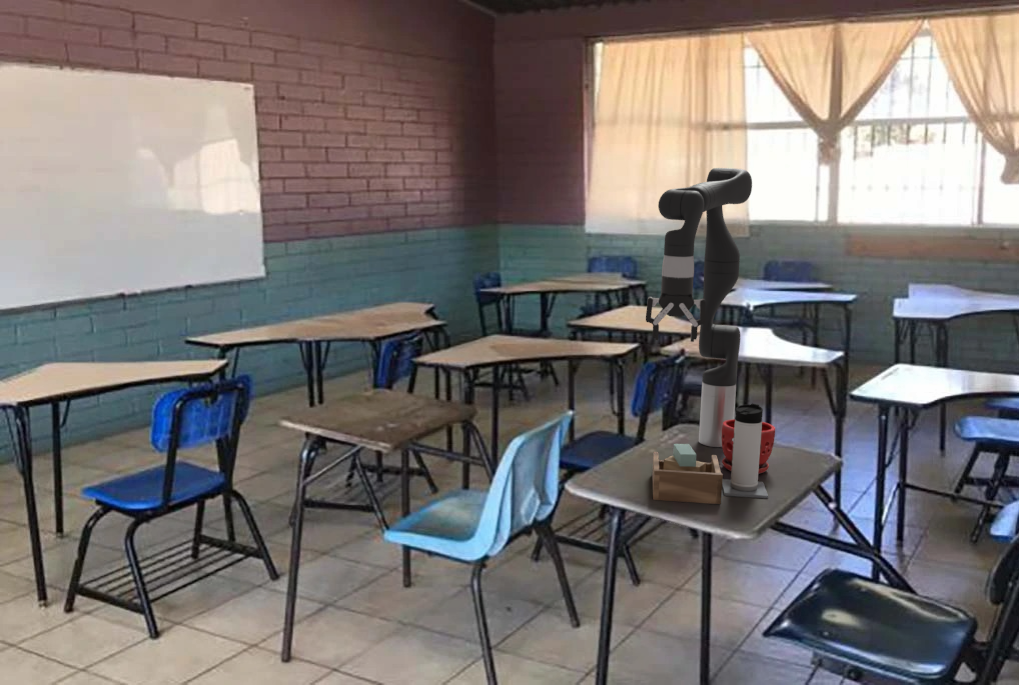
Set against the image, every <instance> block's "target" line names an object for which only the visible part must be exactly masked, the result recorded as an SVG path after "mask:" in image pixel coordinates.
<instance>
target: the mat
mask: <svg viewBox="0 0 1019 685" xmlns="http://www.w3.org/2000/svg"><path fill="white" fill-rule="evenodd" d="M722 492H723V495H724V496H727V497H740V498H741V497H742V498H757V499H769V495H768V491H767V488H766V486H765V484H764V481H758V485H757V489H756V490H754V491H739V490H736V489H733V488H732V487H731V479H724V478H723V479H722Z"/></svg>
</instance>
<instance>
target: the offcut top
mask: <svg viewBox="0 0 1019 685" xmlns="http://www.w3.org/2000/svg"><path fill="white" fill-rule="evenodd" d="M672 449H673V450H672V451H673V452H672V453H673V454H672V456H674V458H675V459H676V461H677V463H678V464H679V466H693V467H696V461H697V453H696V452H695V450H694V449H693V448H692V446H691V445H690V443H673V448H672Z"/></svg>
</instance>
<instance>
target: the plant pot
mask: <svg viewBox="0 0 1019 685" xmlns="http://www.w3.org/2000/svg"><path fill="white" fill-rule="evenodd" d="M734 426H735V418H734V419H732V420H726V421H724V422H723V425H722V437H721V439H722V447H721V449H722V452H723V454H724V458H723V459H722V460H721V464H722V465H723V467H724V468H725V469H726V470H728V471H729V472H731V470H732V456H733V441H734ZM775 437H776V427H775V426H774V425H773V424H771V423H768V422H764V421H762V430H761V444H760V457H759V471H758V475H759V474H762V473H765V472H766V471H768V470H769V467H770V465H769V463H768V460H769V458H770V457H771V454H772V452H773V448H774V444H775ZM732 439H733V441H732Z"/></svg>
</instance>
